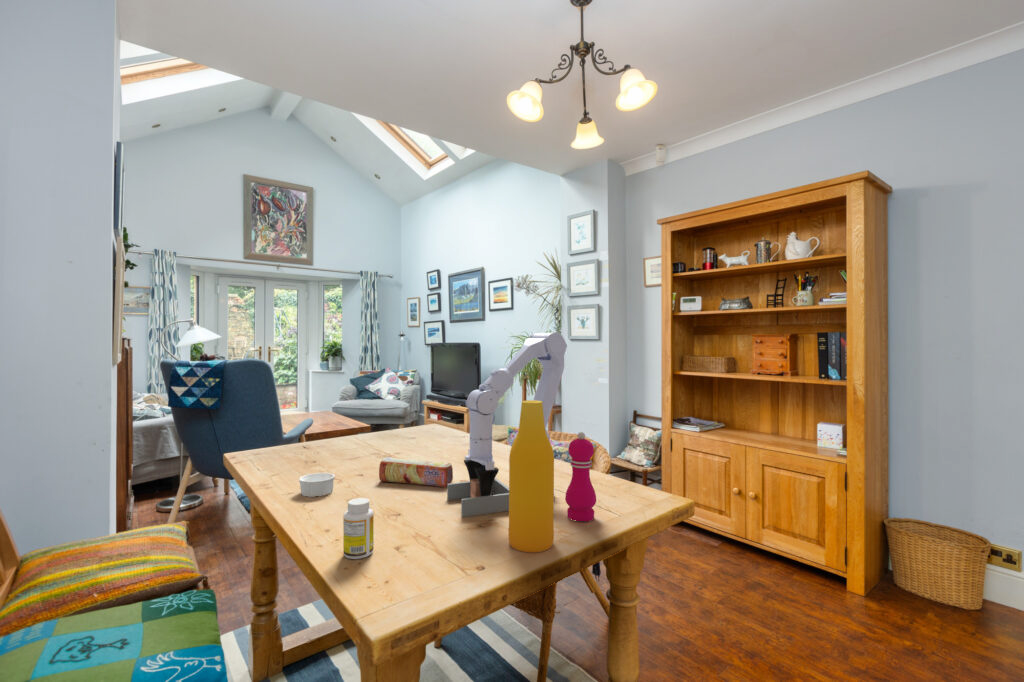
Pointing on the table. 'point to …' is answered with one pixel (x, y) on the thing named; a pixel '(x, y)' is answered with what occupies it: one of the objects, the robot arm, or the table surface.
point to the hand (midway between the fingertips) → (480, 491)
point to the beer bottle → (531, 483)
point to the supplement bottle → (358, 529)
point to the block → (475, 488)
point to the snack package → (415, 472)
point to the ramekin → (316, 484)
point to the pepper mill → (580, 481)
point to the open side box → (479, 498)
